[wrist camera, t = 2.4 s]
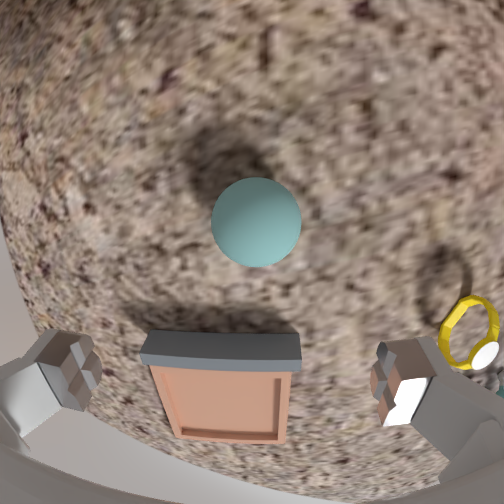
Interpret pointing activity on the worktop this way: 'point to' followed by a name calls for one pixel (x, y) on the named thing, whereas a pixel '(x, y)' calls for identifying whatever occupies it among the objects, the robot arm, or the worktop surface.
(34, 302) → the worktop surface
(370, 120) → the worktop surface
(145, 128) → the worktop surface
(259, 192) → the ball
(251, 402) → the dish
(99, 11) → the worktop surface
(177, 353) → the block
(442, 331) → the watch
